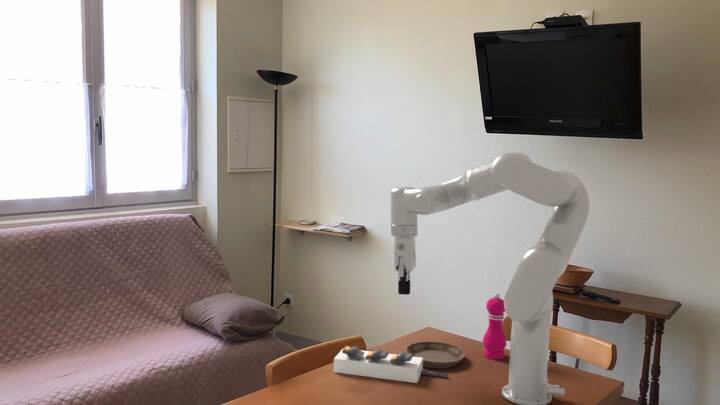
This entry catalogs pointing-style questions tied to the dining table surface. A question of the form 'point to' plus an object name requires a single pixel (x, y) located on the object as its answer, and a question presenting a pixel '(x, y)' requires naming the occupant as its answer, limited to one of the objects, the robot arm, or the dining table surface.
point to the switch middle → (377, 355)
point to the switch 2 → (401, 358)
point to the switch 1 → (353, 352)
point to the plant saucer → (436, 354)
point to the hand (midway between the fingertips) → (404, 293)
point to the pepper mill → (495, 329)
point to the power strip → (383, 368)
